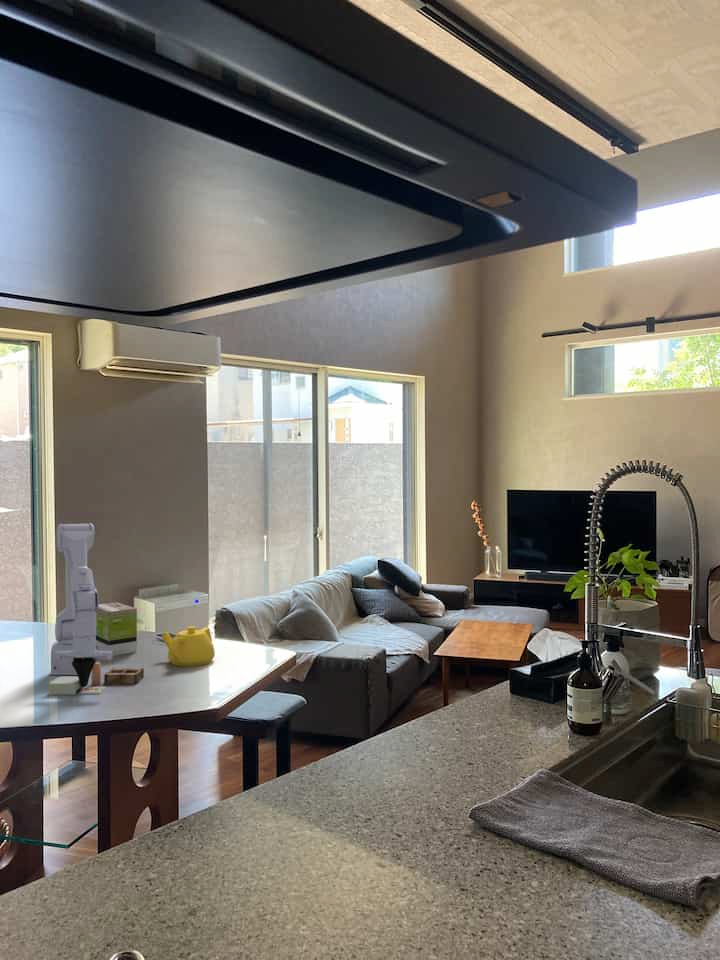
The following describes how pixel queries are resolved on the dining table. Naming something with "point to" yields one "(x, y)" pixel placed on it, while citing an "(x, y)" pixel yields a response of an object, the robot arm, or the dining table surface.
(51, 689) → the cover
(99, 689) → the tile
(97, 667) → the pin
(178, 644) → the teapot
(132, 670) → the wooden compartment tray
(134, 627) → the tea box
